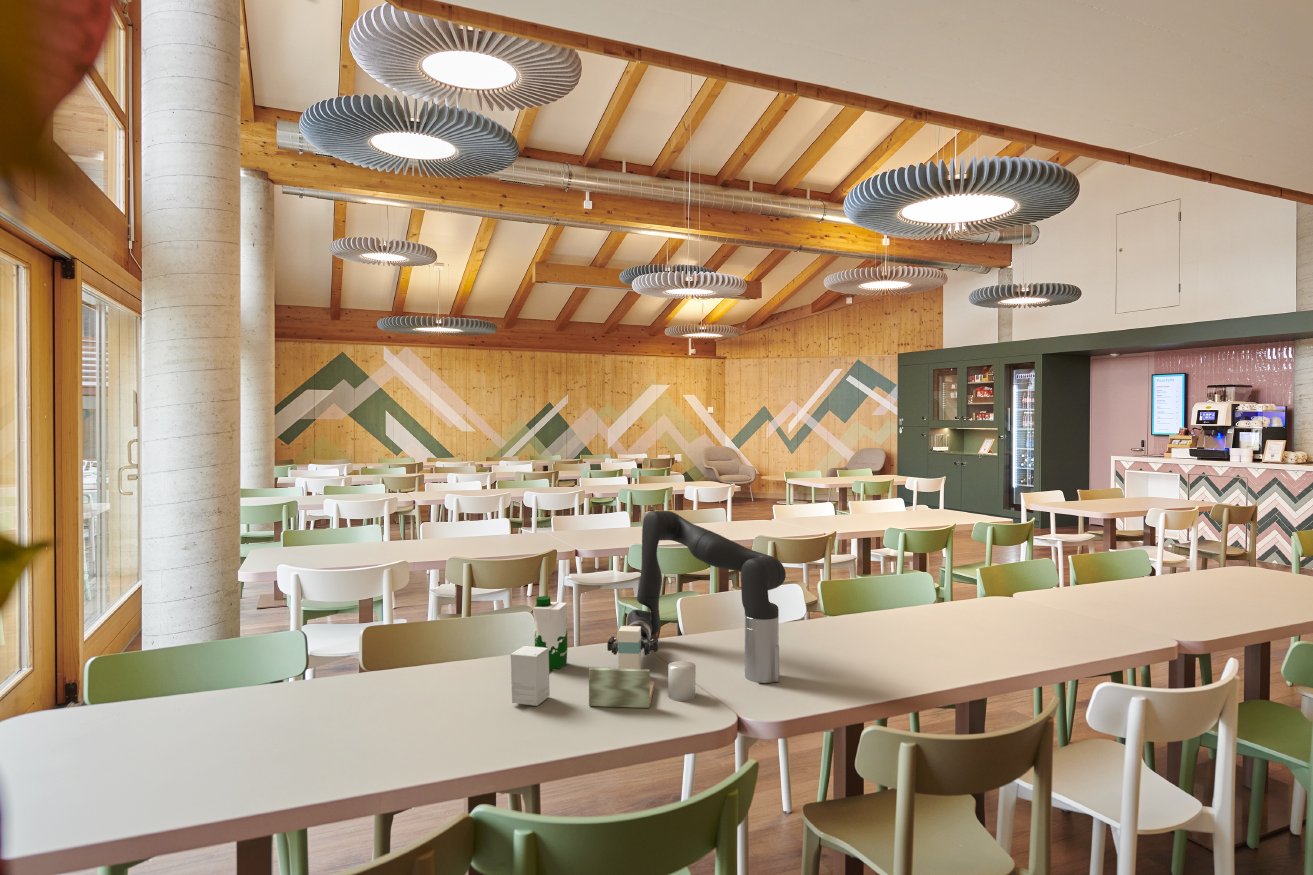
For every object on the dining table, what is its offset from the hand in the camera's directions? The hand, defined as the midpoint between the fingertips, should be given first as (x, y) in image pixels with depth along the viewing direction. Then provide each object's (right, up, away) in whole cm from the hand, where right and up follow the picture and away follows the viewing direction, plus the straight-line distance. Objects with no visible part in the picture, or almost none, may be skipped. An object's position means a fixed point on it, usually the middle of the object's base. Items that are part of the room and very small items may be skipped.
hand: (630, 651), depth 213 cm
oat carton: (0, -8, 0) cm, 8 cm away
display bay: (-1, -8, -14) cm, 16 cm away
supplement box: (-25, -8, -16) cm, 31 cm away
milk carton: (-23, -8, +11) cm, 27 cm away
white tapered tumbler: (+14, -8, -14) cm, 21 cm away
